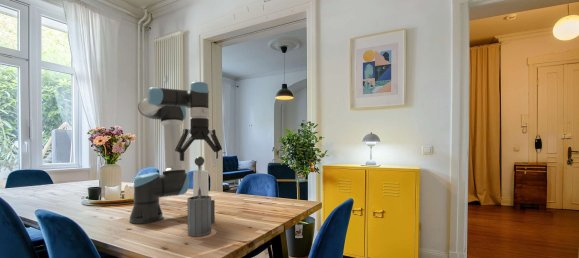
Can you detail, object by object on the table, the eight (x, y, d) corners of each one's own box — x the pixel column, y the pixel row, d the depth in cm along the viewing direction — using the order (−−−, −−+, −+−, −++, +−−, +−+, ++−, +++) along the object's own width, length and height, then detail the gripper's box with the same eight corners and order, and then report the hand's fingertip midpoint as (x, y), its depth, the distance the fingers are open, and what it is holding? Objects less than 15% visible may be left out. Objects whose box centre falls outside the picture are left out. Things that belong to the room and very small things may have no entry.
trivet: (176, 235, 120) (176, 233, 120) (206, 227, 130) (206, 226, 130) (190, 243, 110) (190, 241, 110) (222, 234, 120) (222, 233, 120)
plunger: (189, 201, 121) (189, 156, 122) (202, 199, 125) (202, 156, 126) (196, 203, 116) (196, 157, 117) (209, 201, 121) (209, 156, 122)
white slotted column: (204, 225, 134) (204, 172, 136) (190, 224, 136) (190, 171, 137) (211, 220, 141) (211, 170, 143) (198, 220, 143) (198, 170, 144)
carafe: (183, 233, 120) (183, 197, 121) (208, 227, 128) (208, 194, 129) (193, 238, 113) (193, 201, 114) (219, 232, 121) (219, 196, 122)
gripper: (173, 116, 111) (173, 170, 110) (229, 118, 128) (229, 166, 127) (166, 117, 116) (166, 169, 115) (220, 120, 134) (221, 165, 133)
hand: (199, 167), depth 121 cm, fingers open, 13 cm apart
